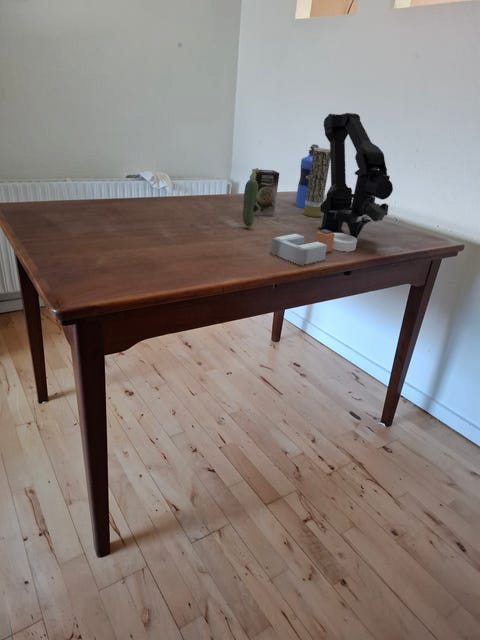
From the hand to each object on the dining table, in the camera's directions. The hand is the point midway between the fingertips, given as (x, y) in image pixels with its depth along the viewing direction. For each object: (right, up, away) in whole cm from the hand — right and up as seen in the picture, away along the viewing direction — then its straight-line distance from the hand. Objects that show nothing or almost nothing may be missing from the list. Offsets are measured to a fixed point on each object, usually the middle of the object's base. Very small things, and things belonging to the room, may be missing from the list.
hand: (353, 240), depth 150 cm
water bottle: (-9, +22, +46) cm, 52 cm away
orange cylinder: (-12, -5, -9) cm, 16 cm away
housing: (-21, -8, -17) cm, 28 cm away
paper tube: (-9, +15, +32) cm, 36 cm away
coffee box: (-30, +15, +26) cm, 42 cm away
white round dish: (-5, -3, -3) cm, 7 cm away
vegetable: (-35, +5, +6) cm, 36 cm away
